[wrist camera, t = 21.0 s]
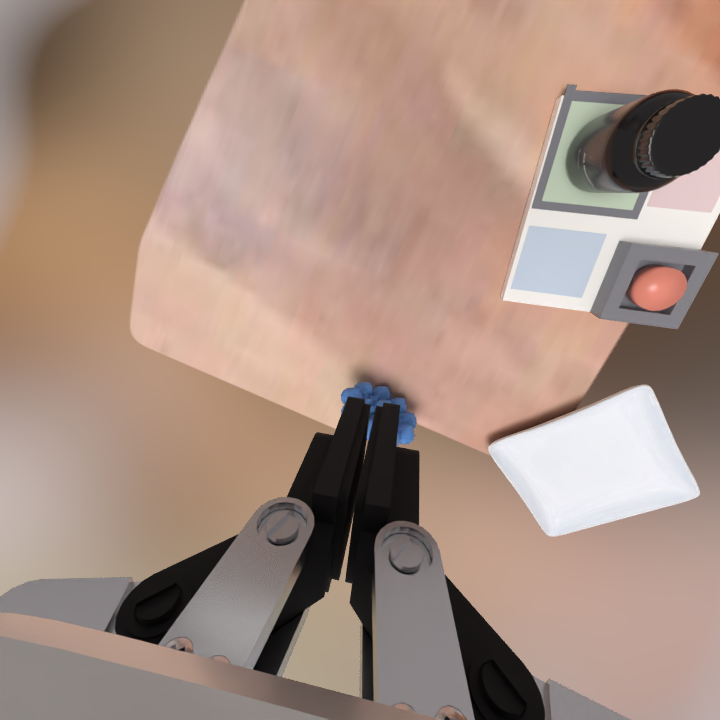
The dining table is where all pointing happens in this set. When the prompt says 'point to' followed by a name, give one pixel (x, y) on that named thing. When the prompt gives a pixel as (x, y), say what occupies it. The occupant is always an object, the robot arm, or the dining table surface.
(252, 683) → the robot arm
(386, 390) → the grapes
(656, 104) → the supplement bottle
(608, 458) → the salad plate
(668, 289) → the button
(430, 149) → the dining table surface
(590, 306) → the printed board
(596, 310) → the button housing
